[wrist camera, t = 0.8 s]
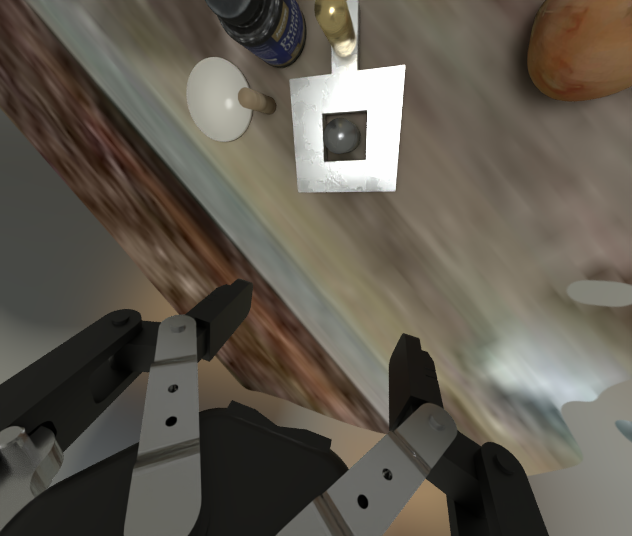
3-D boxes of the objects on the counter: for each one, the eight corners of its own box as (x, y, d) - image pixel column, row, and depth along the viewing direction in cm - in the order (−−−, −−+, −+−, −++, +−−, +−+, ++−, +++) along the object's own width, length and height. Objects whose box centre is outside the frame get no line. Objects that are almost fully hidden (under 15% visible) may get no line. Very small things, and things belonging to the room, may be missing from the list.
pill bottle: (307, 67, 29) (267, 28, 19) (257, 69, 30) (197, 34, 21) (307, -7, 26) (261, -95, 17) (252, -1, 28) (181, -79, 18)
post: (347, 116, 30) (338, 110, 25) (366, 136, 31) (361, 134, 25) (328, 138, 32) (317, 137, 26) (347, 158, 32) (339, 160, 27)
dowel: (267, 93, 31) (243, 82, 26) (278, 104, 31) (257, 96, 26) (259, 106, 32) (234, 99, 27) (270, 117, 32) (247, 112, 27)
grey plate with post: (394, 188, 32) (397, 203, 24) (302, 189, 35) (276, 203, 27) (409, -1, 25) (420, -73, 16) (291, 21, 27) (250, -32, 19)
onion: (599, 113, 25) (714, 96, 16) (489, 102, 27) (540, 81, 18) (674, -27, 21) (887, -154, 12) (537, -29, 22) (634, -143, 13)
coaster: (209, 38, 30) (206, 37, 30) (266, 97, 31) (264, 96, 31) (179, 107, 34) (175, 106, 34) (230, 156, 36) (227, 156, 35)
